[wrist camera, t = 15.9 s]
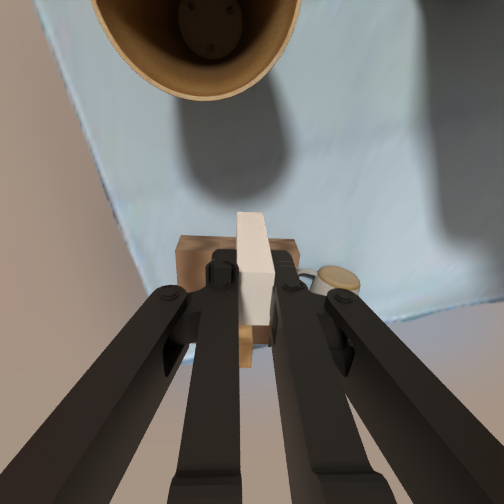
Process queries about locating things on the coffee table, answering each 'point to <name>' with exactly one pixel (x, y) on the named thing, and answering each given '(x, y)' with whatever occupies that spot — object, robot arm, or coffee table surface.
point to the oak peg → (245, 346)
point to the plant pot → (199, 42)
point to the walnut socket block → (199, 255)
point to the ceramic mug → (332, 279)
